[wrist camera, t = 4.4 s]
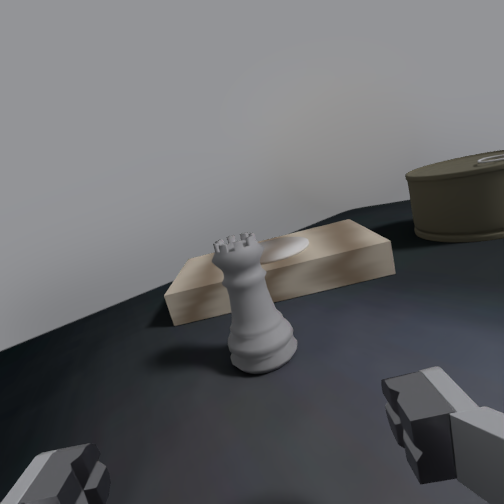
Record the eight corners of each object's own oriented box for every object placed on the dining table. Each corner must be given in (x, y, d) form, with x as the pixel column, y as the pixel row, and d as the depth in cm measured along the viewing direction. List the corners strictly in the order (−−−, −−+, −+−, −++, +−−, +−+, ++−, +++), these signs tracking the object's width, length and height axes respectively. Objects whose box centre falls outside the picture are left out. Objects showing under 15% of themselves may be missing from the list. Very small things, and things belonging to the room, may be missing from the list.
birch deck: (174, 326, 30) (163, 292, 29) (195, 281, 41) (187, 256, 41) (395, 273, 29) (390, 237, 28) (353, 243, 40) (348, 216, 40)
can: (421, 217, 44) (415, 165, 42) (540, 205, 37) (538, 142, 35) (403, 247, 35) (394, 182, 33) (558, 238, 28) (556, 155, 26)
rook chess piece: (232, 345, 24) (201, 240, 22) (293, 331, 24) (267, 223, 22) (231, 385, 20) (192, 258, 18) (305, 367, 19) (273, 237, 17)
